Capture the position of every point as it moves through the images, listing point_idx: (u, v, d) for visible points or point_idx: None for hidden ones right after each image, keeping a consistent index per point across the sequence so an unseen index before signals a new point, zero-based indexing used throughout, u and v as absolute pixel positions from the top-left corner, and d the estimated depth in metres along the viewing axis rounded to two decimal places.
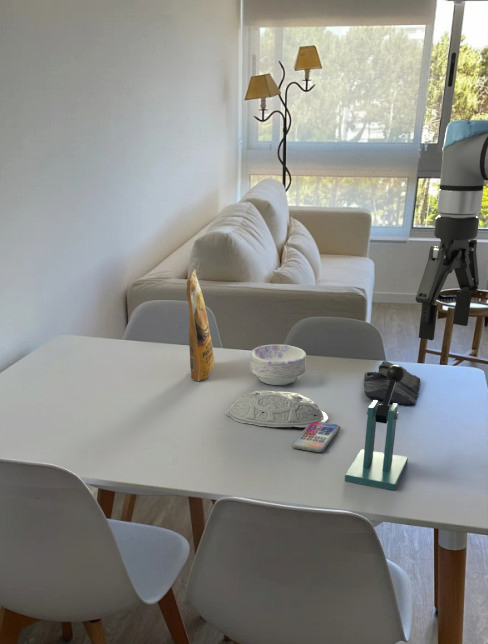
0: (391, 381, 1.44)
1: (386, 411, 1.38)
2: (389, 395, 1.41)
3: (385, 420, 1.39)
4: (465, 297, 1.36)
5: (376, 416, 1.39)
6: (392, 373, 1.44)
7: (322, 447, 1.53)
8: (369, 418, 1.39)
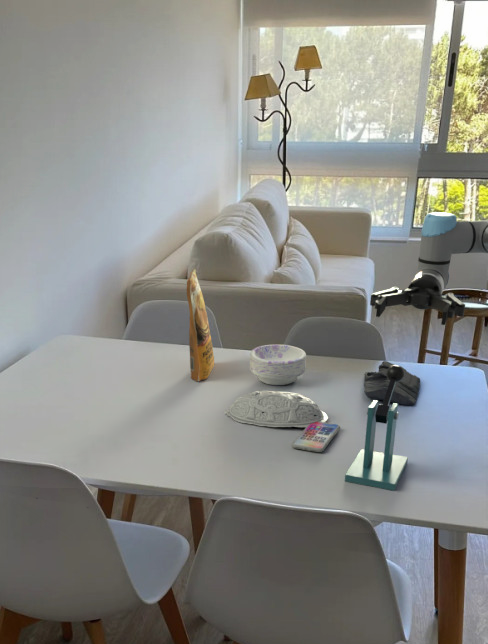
0: (391, 381, 1.44)
1: (386, 411, 1.38)
2: (389, 395, 1.41)
3: (385, 420, 1.39)
4: None
5: (376, 416, 1.39)
6: (392, 373, 1.44)
7: (322, 447, 1.53)
8: (369, 418, 1.39)
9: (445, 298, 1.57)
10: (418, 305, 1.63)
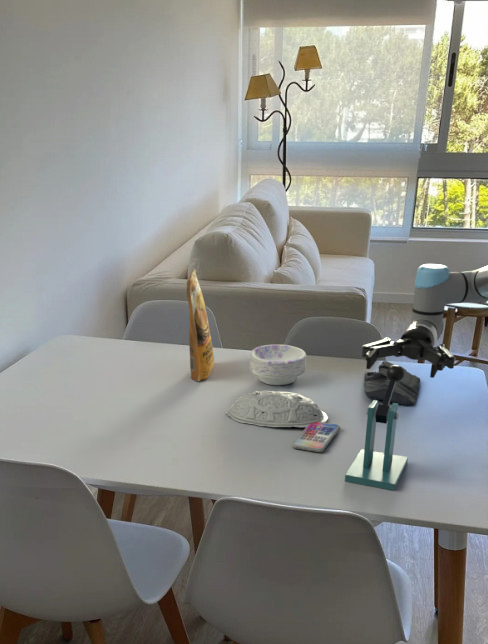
0: (391, 381, 1.44)
1: (386, 411, 1.38)
2: (389, 395, 1.41)
3: (385, 420, 1.39)
4: None
5: (376, 416, 1.39)
6: (392, 373, 1.44)
7: (322, 447, 1.53)
8: (369, 418, 1.39)
9: (436, 349, 1.59)
10: (411, 356, 1.65)
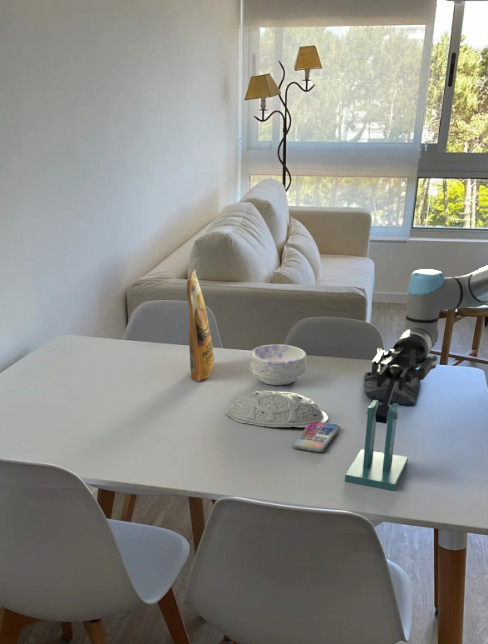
0: (391, 381, 1.44)
1: (386, 411, 1.38)
2: (389, 395, 1.41)
3: (385, 420, 1.39)
4: None
5: (376, 416, 1.39)
6: (392, 373, 1.44)
7: (322, 447, 1.53)
8: (369, 418, 1.39)
9: None
10: (404, 365, 1.58)
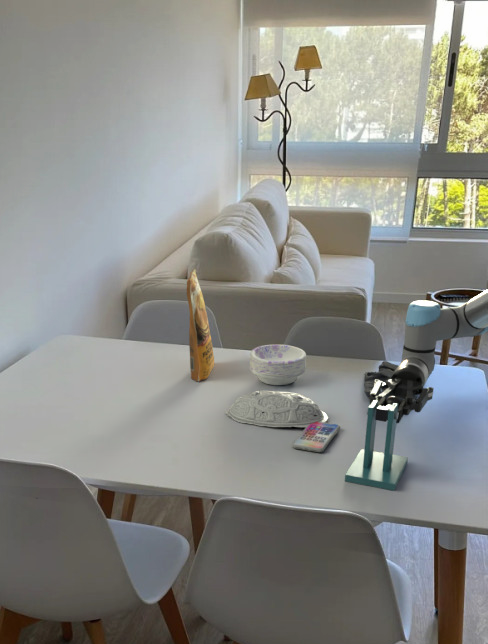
0: (390, 404, 1.47)
1: (387, 408, 1.39)
2: (388, 407, 1.43)
3: (385, 416, 1.38)
4: None
5: (377, 411, 1.38)
6: (391, 399, 1.48)
7: (322, 447, 1.53)
8: (369, 418, 1.39)
9: (422, 391, 1.56)
10: None
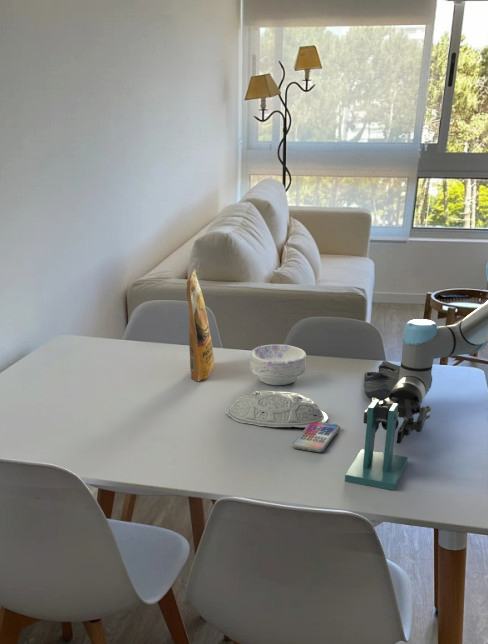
0: None
1: (387, 408, 1.39)
2: None
3: (385, 414, 1.38)
4: None
5: (377, 408, 1.38)
6: None
7: (322, 447, 1.53)
8: (369, 418, 1.39)
9: (420, 411, 1.57)
10: None
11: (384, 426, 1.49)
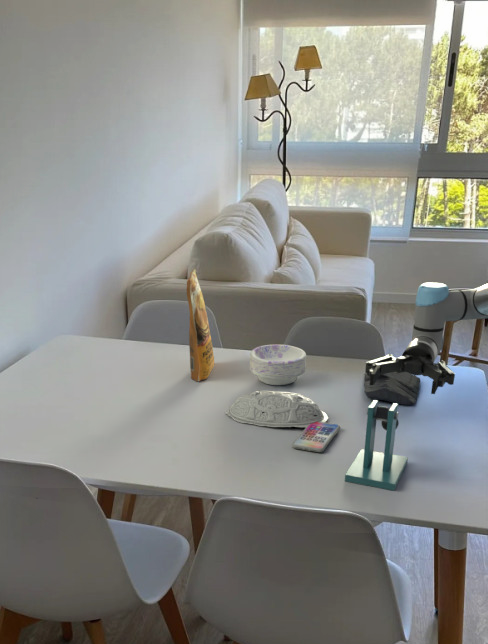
0: None
1: (387, 408, 1.39)
2: None
3: (385, 414, 1.38)
4: None
5: (377, 408, 1.38)
6: None
7: (322, 447, 1.53)
8: (369, 418, 1.39)
9: (437, 366, 1.65)
10: (412, 371, 1.72)
11: (384, 426, 1.49)
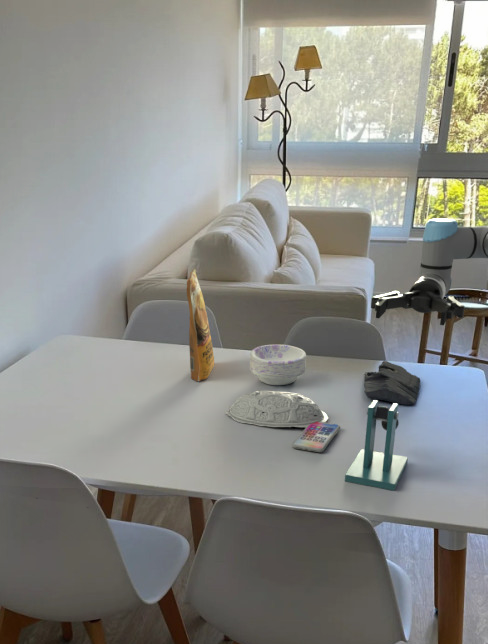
0: None
1: (387, 408, 1.39)
2: None
3: (385, 414, 1.38)
4: None
5: (377, 408, 1.38)
6: None
7: (322, 447, 1.53)
8: (369, 418, 1.39)
9: (445, 301, 1.59)
10: (419, 309, 1.65)
11: (384, 426, 1.49)
